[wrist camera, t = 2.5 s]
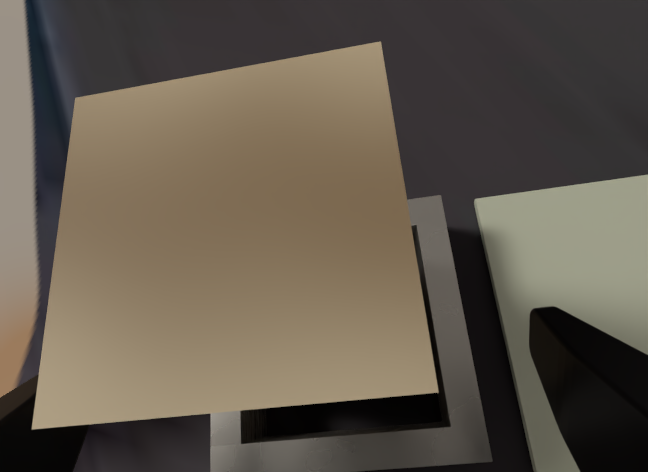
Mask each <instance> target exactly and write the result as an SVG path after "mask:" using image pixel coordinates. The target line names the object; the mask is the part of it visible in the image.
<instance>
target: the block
mask: <svg viewBox="0 0 648 472" xmlns="http://www.w3.org/2000/svg"><path fill="white" fill-rule="evenodd" d="M429 393H439V391H438V385H437V379H436V373H435V367H434V361H433V355H432V349H431V343H430V337H429V331H428V324H427V318H426V312H425V306H424V300H423V294H422V288H421V282H420V276H419V270H418V264H417V258H416V252H415V246H414V240H413V234H412V228H411V222H410V216H409V210H408V204H407V198H406V191H405V185H404V179H403V173H402V167H401V161H400V155H399V149H398V143H397V137H396V131H395V125H394V119H393V113H392V107H391V101H390V95H389V89H388V83H387V77H386V71H385V65H384V59H383V52H382V46H381V42H376V43H370V44H365V45H359V46H354V47H349V48H343V49H338V50H332V51H327V52H322V53H316V54H311V55H305V56H300V57H295V58H289V59H284V60H278V61H273V62H268V63H262V64H257V65H251V66H246V67H241V68H235V69H230V70H224V71H219V72H214V73H208V74H203V75H197V76H192V77H187V78H181V79H176V80H170V81H165V82H160V83H154V84H149V85H143V86H138V87H133V88H127V89H122V90H116V91H111V92H106V93H100V94H95V95H89V96H84V97H79V98H75V105H74V113H73V120H72V128H71V135H70V143H69V150H68V158H67V166H66V173H65V181H64V188H63V196H62V203H61V211H60V218H59V226H58V233H57V241H56V249H55V256H54V264H53V271H52V279H51V286H50V294H49V301H48V309H47V316H46V324H45V332H44V339H43V347H42V354H41V362H40V369H39V377H38V384H37V392H36V400H35V407H34V415H33V422H32V429H43V428H54V427H65V426H76V425H87V424H98V423H109V422H120V421H131V420H142V419H153V418H164V417H175V416H186V415H197V414H208V413H219V412H230V411H241V410H252V409H263V408H274V407H285V406H296V405H307V404H318V403H329V402H340V401H352V400H363V399H374V398H385V397H396V396H407V395H418V394H429Z"/></svg>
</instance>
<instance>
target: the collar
mask: <svg viewBox="0 0 648 472" xmlns="http://www.w3.org/2000/svg"><path fill="white" fill-rule="evenodd" d="M407 204H408V210H409V216H410V222H411V228H412V234H413V240H414V246H415V252H416V258H417V264H418V270H419V276H420V282H421V288H422V294H423V300H424V306H425V312H426V318H427V324H428V331H429V337H430V343H431V349H432V355H433V361H434V367H435V373H436V379H437V385H438V391H439V393H437V394H438V401H439V407H440V413H441V419H442V422H430V423H418V424H406V425H394V426H382V427H370V428H358V429H346V430H334V431H322V432H310V433H298V434H286V435H274V436H267V418H266V408H263V409H252V410H241V411H230V412H219V413H211V472H357V471H371V470H385V469H399V468H413V467H427V466H441V465H455V464H469V463H482V462H493V460H492V455H491V450H490V445H489V440H488V435H487V430H486V425H485V420H484V414H483V409H482V404H481V399H480V394H479V389H478V384H477V379H476V373H475V368H474V363H473V358H472V353H471V348H470V343H469V338H468V333H467V327H466V322H465V317H464V312H463V307H462V302H461V297H460V292H459V286H458V281H457V276H456V271H455V266H454V261H453V256H452V251H451V246H450V240H449V235H448V230H447V225H446V220H445V215H444V210H443V205H442V200H441V195H438V196H431V197H424V198H417V199H410V200H407Z"/></svg>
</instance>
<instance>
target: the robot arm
mask: <svg viewBox="0 0 648 472" xmlns="http://www.w3.org/2000/svg"><path fill="white" fill-rule="evenodd" d="M529 349H530V354H531V357H532V360H533V362H534V365H535V368H536V370H537V373H538V376H539V378H540V381H541V383H542V386H543V389H544V391H545V394H546V397H547V399H548V402H549V405H550V407H551V410H552V412H553V415H554V418H555V420H556V423H557V425H558V428H559V430H560V433H561V435H562V437H563V439H564V441H565V443H566V445H567V447H568V449H569V451H570V453H571V455H572V457H573V459H574V461H575V462H576V464H577V466H578V468H579V470H580V472H648V355H647V354H645V353H643V352H642V351H640V350H638V349H636V348H634V347H632V346H630V345H628V344H626V343H624V342H622V341H621V340H619V339H617V338H615V337H613V336H611V335H609V334H607V333H605V332H603V331H602V330H600V329H598V328H596V327H594V326H592V325H590V324H588V323H586V322H584V321H583V320H581V319H579V318H577V317H575V316H573V315H571V314H569V313H567V312H565V311H563V310H562V309H560V308H558V307H555V306H548V307H539V308H533V309H532V310H531V312H530V320H529ZM38 377H39V374H38V375H37V376H35V377H33V378H32V379H30V380H28V381H27V382H25V383H23V384H22V385H20V386H19V387H17V388H15V389H14V390H12V391H10V392H9V393H7V394H6V395H4V396H2V397H1V398H0V472H73V470H74V467H75V464H76V462H77V459H78V456H79V454H80V451H81V448H82V445H83V442H84V440H85V437H86V434H87V431H88V428H89V425H90V424H87V425H76V426H65V427H54V428H43V429H32V422H33V415H34V407H35V400H36V392H37V384H38Z"/></svg>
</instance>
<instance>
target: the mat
mask: <svg viewBox="0 0 648 472" xmlns="http://www.w3.org/2000/svg"><path fill="white" fill-rule="evenodd" d="M474 206H475V211H476V215H477V220H478V224H479V229H480V233H481V238H482V242H483V247H484V251H485V256H486V260H487V264H488V269H489V273H490V278H491V282H492V287H493V291H494V296H495V300H496V305H497V309H498V314H499V318H500V323H501V327H502V332H503V336H504V341H505V345H506V350H507V354H508V359H509V363H510V368H511V372H512V377H513V381H514V386H515V390H516V395H517V399H518V404H519V408H520V413H521V417H522V422H523V426H524V431H525V435H526V440H527V444H528V449H529V453H530V458H531V462H532V467H533V471H534V472H580V470H579V468H578V466H577V464H576V462H575V461H574V459H573V457H572V455H571V453H570V451H569V449H568V447H567V445H566V443H565V441H564V439H563V437H562V435H561V433H560V430H559V428H558V425H557V423H556V420H555V418H554V415H553V412H552V410H551V407H550V405H549V402H548V399H547V397H546V394H545V391H544V389H543V386H542V383H541V381H540V378H539V376H538V373H537V370H536V368H535V365H534V362H533V360H532V357H531V354H530V349H529V320H530V312H531V310H532V309H533V308H539V307H548V306H555V307H558V308H560V309H562V310H563V311H565V312H567V313H569V314H571V315H573V316H575V317H577V318H579V319H581V320H583V321H584V322H586V323H588V324H590V325H592V326H594V327H596V328H598V329H600V330H602V331H603V332H605V333H607V334H609V335H611V336H613V337H615V338H617V339H619V340H621V341H622V342H624V343H626V344H628V345H630V346H632V347H634V348H636V349H638V350H640V351H642V352H643V353H645V354H647V355H648V175H643V176H636V177H629V178H621V179H614V180H607V181H600V182H593V183H586V184H579V185H571V186H564V187H557V188H550V189H543V190H536V191H529V192H522V193H514V194H507V195H500V196H493V197H486V198H479V199H475V201H474Z"/></svg>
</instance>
